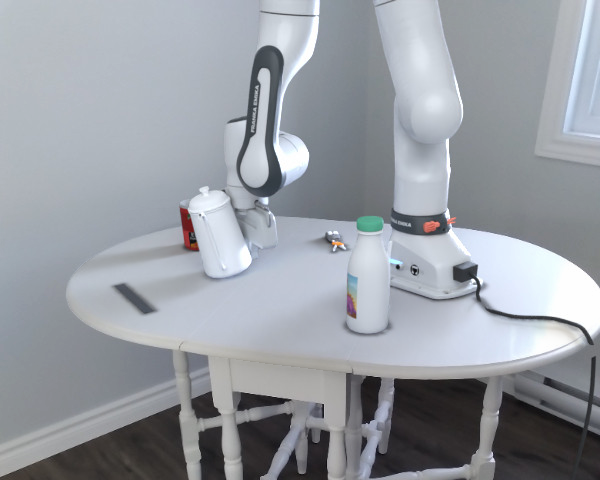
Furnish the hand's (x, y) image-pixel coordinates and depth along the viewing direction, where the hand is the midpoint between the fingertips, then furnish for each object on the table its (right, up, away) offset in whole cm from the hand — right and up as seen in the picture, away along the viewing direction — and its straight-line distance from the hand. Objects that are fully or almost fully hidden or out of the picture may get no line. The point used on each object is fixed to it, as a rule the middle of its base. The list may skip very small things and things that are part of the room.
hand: (252, 257), depth 146 cm
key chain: (+20, +6, +14) cm, 25 cm away
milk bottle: (+24, -19, -27) cm, 41 cm away
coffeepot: (-5, -4, -2) cm, 6 cm away
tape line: (-24, -11, -12) cm, 29 cm away
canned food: (-15, +6, +16) cm, 23 cm away
